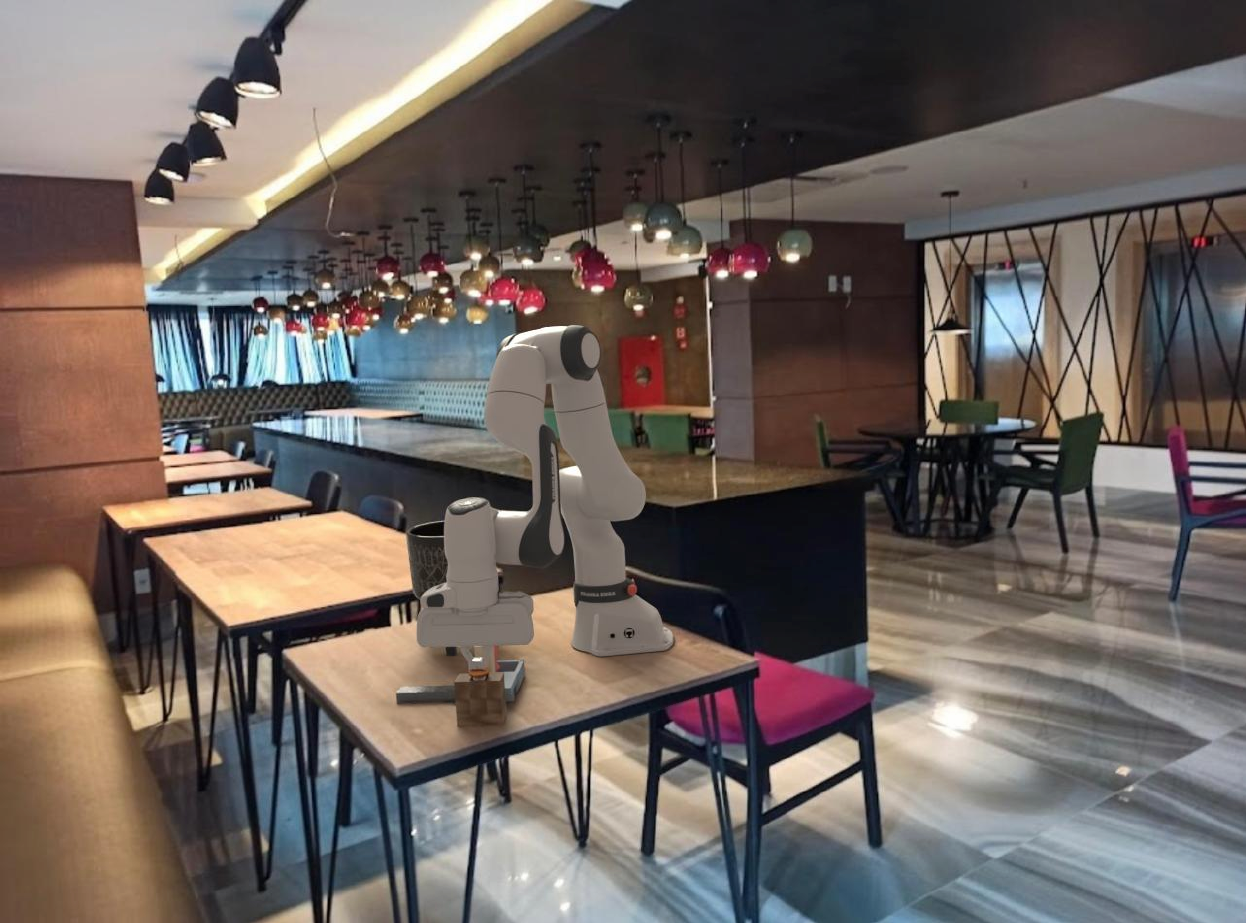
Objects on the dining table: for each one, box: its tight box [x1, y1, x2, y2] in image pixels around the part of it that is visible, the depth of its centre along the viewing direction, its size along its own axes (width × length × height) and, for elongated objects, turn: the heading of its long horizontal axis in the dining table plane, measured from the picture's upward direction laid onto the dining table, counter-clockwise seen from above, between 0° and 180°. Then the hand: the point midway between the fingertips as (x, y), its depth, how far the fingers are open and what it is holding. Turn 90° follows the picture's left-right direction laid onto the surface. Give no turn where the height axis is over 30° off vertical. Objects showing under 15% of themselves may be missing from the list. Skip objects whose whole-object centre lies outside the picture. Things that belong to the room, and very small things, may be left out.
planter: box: [405, 520, 497, 656], centre depth 201 cm, size 20×20×26 cm
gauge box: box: [453, 673, 507, 727], centre depth 159 cm, size 8×4×8 cm, turn 88°
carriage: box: [467, 646, 526, 702], centre depth 172 cm, size 10×16×11 cm, turn 178°
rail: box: [395, 685, 516, 704], centre depth 170 cm, size 22×3×2 cm, turn 88°
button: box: [468, 666, 489, 681], centre depth 158 cm, size 4×4×7 cm
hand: (477, 669), depth 158 cm, fingers closed, pressing on button
